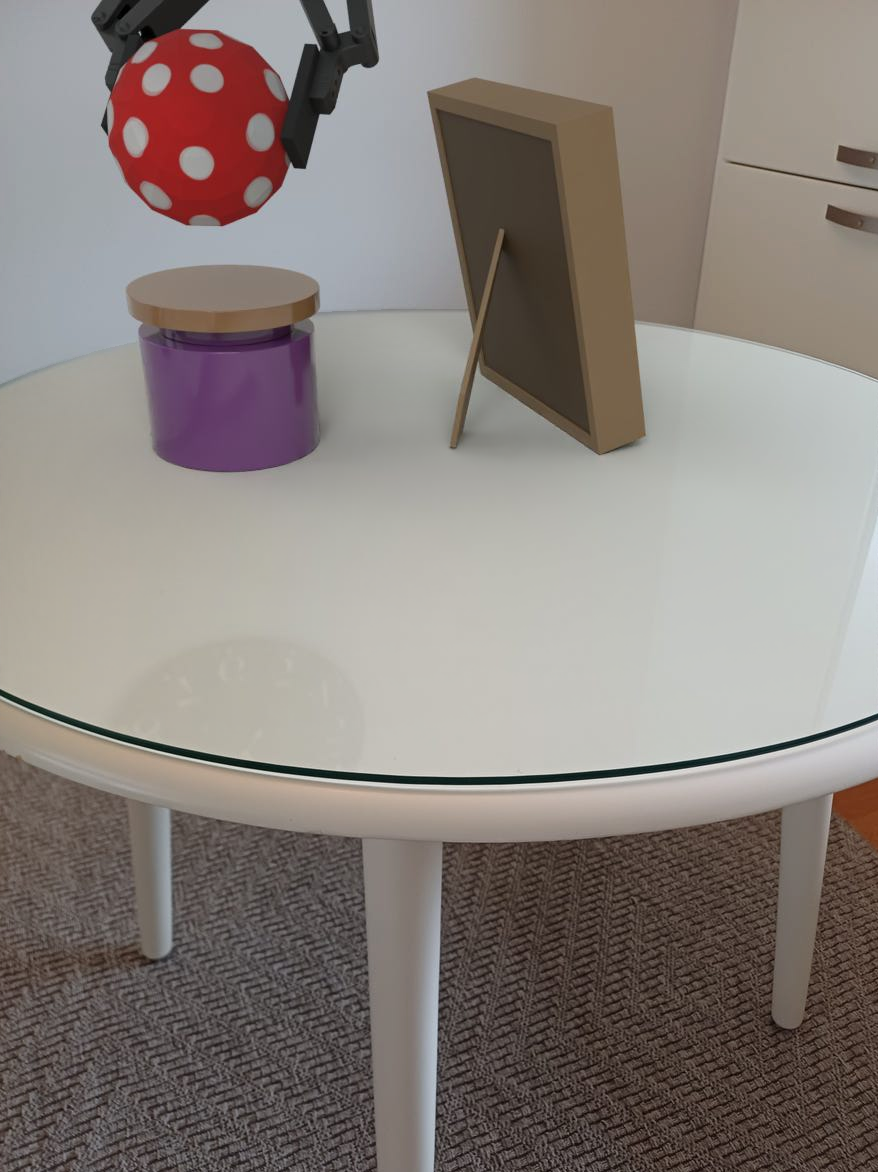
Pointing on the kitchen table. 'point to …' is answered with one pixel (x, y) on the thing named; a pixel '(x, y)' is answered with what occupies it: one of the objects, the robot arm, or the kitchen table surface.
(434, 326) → the kitchen table surface
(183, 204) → the red polka-dot ball
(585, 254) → the photo frame
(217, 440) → the jar
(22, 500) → the kitchen table surface
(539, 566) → the kitchen table surface
